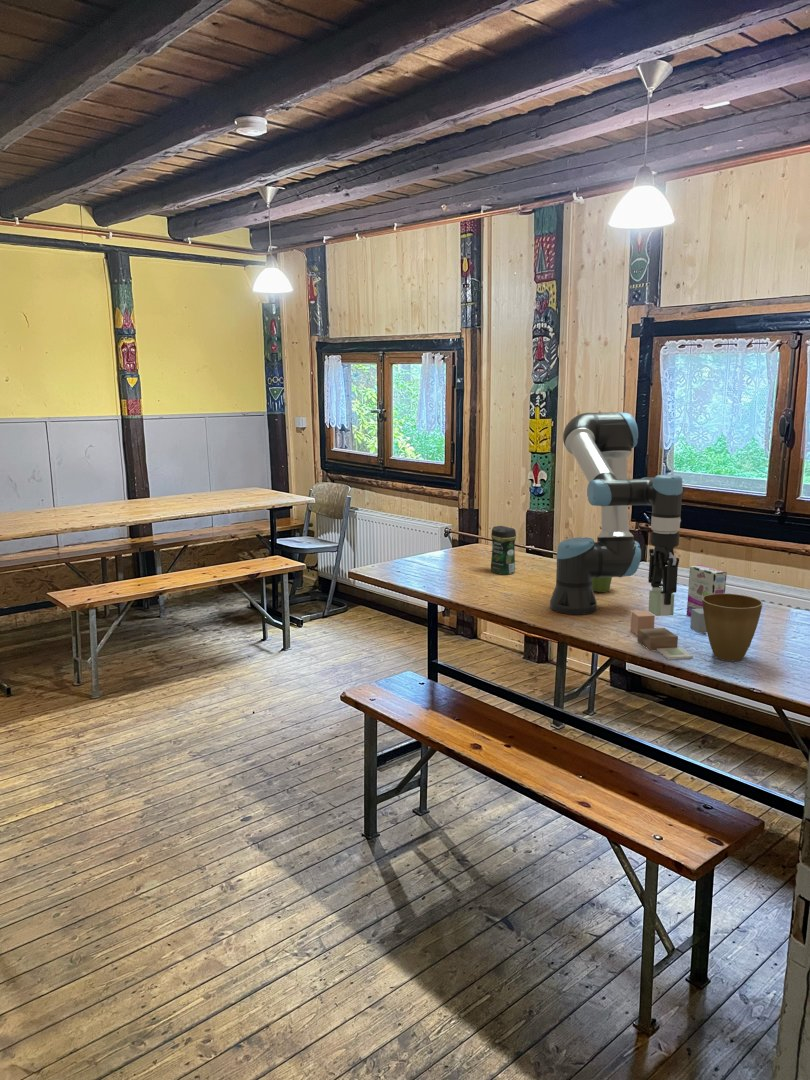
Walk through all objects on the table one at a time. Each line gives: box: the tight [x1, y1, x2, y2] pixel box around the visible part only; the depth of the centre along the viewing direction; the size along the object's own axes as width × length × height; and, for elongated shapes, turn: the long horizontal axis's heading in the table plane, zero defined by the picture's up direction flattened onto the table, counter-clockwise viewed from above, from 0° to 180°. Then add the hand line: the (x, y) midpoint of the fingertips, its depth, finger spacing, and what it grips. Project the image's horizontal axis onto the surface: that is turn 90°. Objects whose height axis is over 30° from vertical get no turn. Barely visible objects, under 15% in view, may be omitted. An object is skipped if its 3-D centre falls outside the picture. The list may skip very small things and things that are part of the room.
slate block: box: [689, 609, 707, 634], centre depth 227 cm, size 5×5×6 cm
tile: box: [656, 646, 694, 660], centre depth 207 cm, size 7×7×1 cm
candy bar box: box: [686, 564, 727, 618], centre depth 236 cm, size 11×5×16 cm, turn 21°
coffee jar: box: [490, 525, 517, 575], centre depth 298 cm, size 10×8×19 cm
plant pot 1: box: [592, 577, 613, 593], centre depth 272 cm, size 12×12×11 cm
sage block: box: [647, 589, 675, 617], centre depth 212 cm, size 5×5×6 cm
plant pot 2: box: [702, 593, 763, 662], centre depth 203 cm, size 15×15×16 cm
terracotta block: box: [630, 610, 656, 637], centre depth 225 cm, size 5×5×6 cm
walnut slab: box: [637, 627, 679, 651], centre depth 214 cm, size 8×8×4 cm
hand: (660, 612), depth 213 cm, fingers closed on sage block, 5 cm apart
